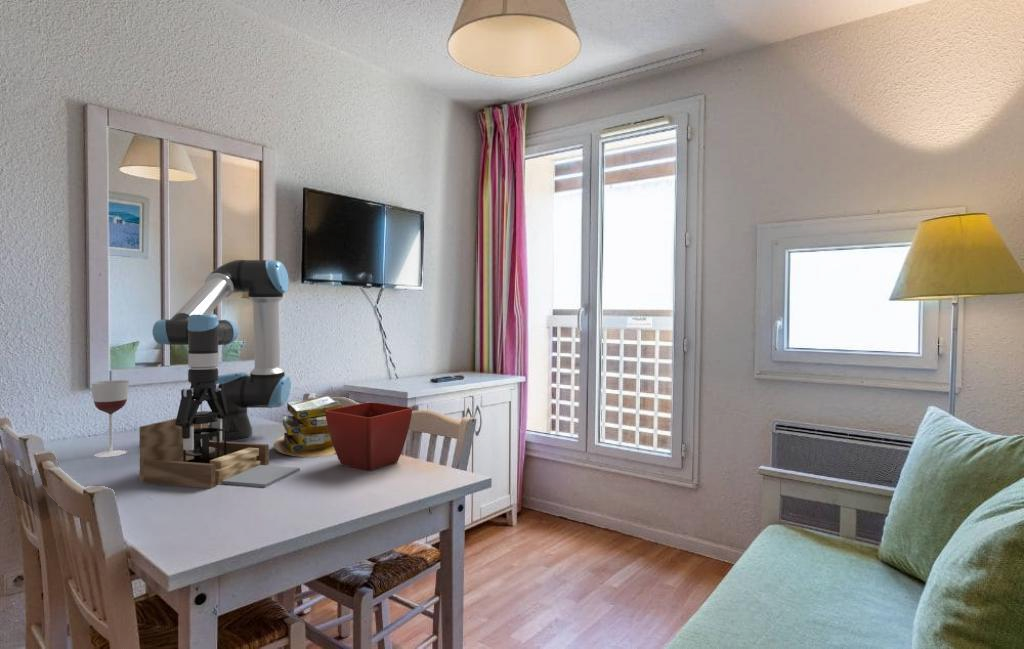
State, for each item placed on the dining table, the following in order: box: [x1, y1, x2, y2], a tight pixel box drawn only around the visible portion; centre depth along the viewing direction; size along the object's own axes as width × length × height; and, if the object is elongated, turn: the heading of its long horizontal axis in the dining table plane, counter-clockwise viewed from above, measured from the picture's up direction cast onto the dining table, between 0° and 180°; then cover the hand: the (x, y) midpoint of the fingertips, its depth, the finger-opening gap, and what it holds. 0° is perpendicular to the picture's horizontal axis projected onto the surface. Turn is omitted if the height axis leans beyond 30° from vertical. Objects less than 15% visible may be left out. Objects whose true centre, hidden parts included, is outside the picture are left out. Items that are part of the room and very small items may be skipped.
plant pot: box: [325, 401, 413, 471], centre depth 172 cm, size 19×19×17 cm
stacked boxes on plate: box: [273, 395, 344, 458], centre depth 190 cm, size 25×25×17 cm
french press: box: [183, 393, 227, 464], centre depth 160 cm, size 12×9×23 cm
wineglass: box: [91, 379, 130, 458], centre depth 180 cm, size 9×10×23 cm
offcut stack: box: [210, 448, 260, 486], centre depth 158 cm, size 18×5×6 cm, turn 170°
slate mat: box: [222, 464, 301, 488], centre depth 157 cm, size 16×13×1 cm
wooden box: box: [139, 417, 270, 489], centre depth 160 cm, size 24×22×15 cm
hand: (203, 445), depth 160 cm, fingers open, 10 cm apart
